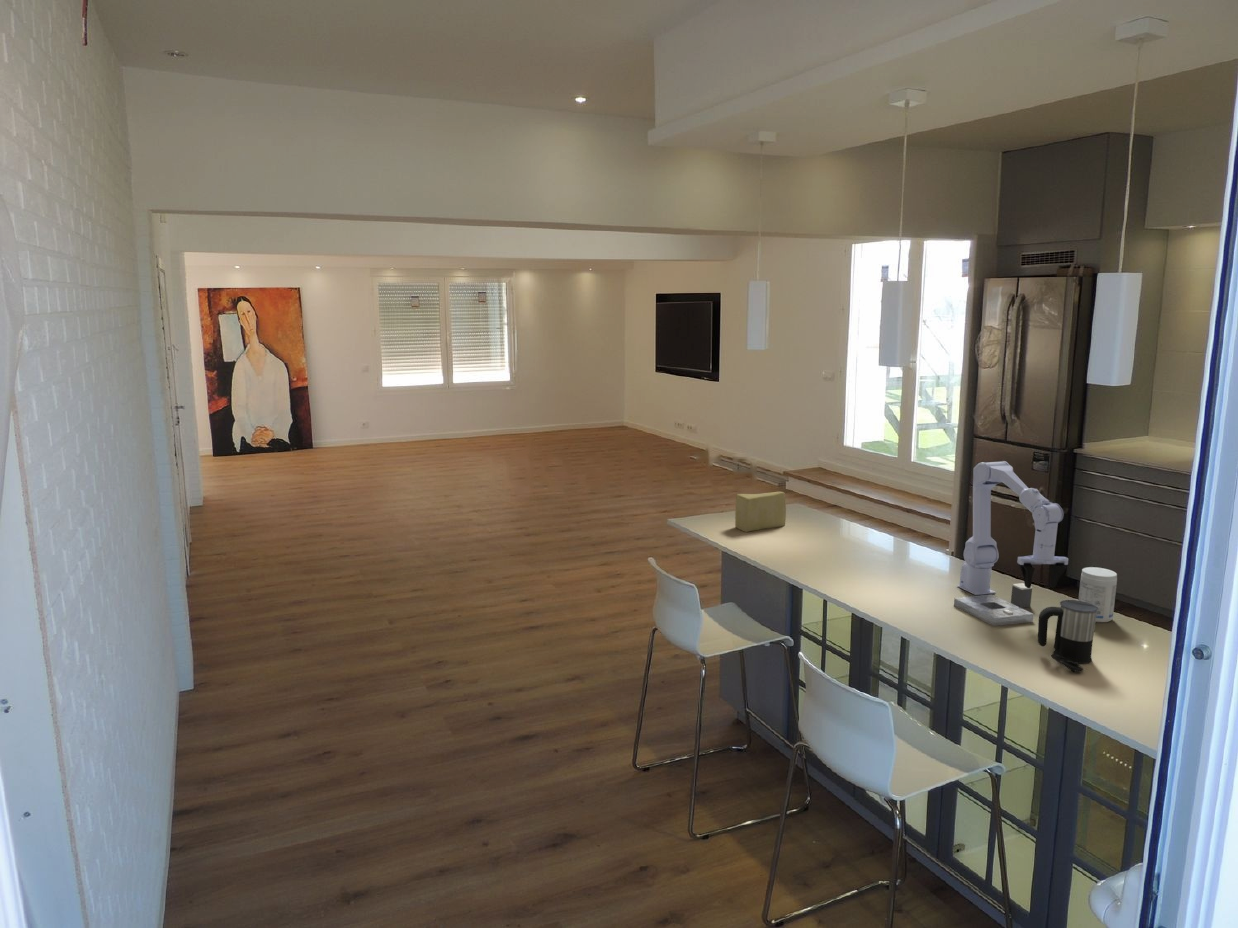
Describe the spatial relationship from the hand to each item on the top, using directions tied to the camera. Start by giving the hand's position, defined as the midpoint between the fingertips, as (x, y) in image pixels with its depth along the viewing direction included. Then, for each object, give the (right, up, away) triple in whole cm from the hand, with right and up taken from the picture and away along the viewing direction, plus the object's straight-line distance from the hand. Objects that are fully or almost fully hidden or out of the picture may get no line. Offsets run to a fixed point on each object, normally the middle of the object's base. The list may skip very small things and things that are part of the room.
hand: (1039, 586), depth 253 cm
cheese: (-66, +10, +104) cm, 124 cm away
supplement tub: (+18, -10, +2) cm, 21 cm away
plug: (0, -8, +13) cm, 15 cm away
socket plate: (-12, -9, +5) cm, 16 cm away
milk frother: (-7, -16, -30) cm, 35 cm away
